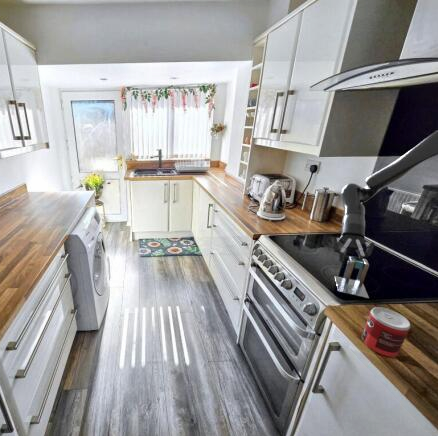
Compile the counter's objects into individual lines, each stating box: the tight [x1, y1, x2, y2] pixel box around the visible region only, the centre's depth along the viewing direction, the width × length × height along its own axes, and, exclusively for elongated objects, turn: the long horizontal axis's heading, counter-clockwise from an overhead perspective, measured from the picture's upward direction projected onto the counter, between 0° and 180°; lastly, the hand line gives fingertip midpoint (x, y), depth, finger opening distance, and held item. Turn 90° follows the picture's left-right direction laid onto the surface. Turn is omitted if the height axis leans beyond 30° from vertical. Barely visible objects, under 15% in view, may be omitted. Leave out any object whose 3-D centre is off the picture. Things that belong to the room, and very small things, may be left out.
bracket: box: [334, 256, 370, 299], centre depth 91 cm, size 11×9×13 cm
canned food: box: [361, 306, 411, 359], centre depth 67 cm, size 8×8×11 cm
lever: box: [344, 255, 363, 270], centre depth 94 cm, size 12×5×2 cm, turn 150°
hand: (350, 263), depth 97 cm, fingers closed on lever, 5 cm apart
